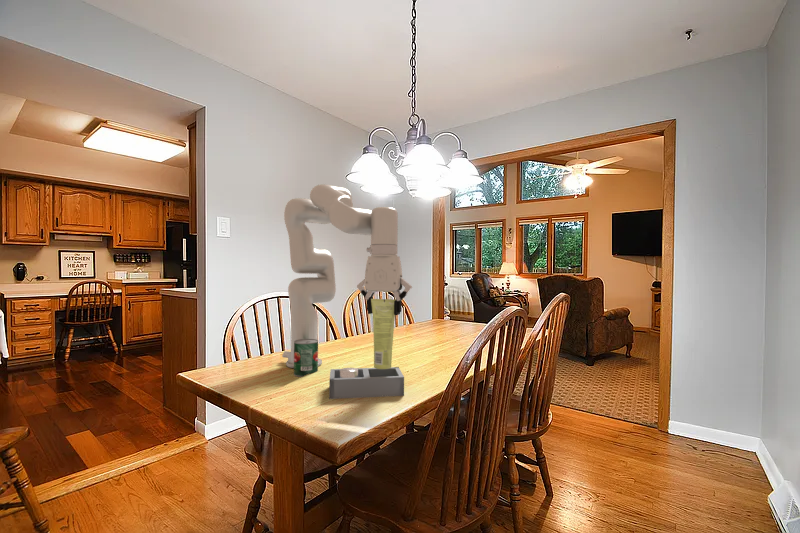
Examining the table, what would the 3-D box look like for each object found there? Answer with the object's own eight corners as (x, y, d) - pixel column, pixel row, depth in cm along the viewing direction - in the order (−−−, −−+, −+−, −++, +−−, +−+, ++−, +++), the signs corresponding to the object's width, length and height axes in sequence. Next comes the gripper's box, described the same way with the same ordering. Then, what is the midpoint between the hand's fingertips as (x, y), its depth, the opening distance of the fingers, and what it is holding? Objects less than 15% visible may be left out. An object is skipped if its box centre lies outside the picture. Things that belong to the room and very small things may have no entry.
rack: (329, 402, 102) (329, 379, 102) (330, 389, 112) (330, 369, 112) (404, 399, 105) (404, 377, 105) (398, 387, 115) (398, 367, 115)
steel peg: (336, 393, 106) (336, 371, 106) (344, 387, 111) (344, 367, 111) (353, 395, 104) (353, 373, 104) (360, 389, 109) (360, 368, 109)
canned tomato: (289, 373, 129) (289, 340, 129) (310, 369, 134) (310, 337, 134) (300, 378, 123) (301, 344, 123) (322, 374, 128) (322, 341, 128)
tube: (386, 364, 113) (386, 297, 113) (396, 367, 109) (397, 298, 109) (370, 367, 109) (370, 298, 109) (380, 371, 105) (381, 300, 105)
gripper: (350, 251, 108) (350, 314, 108) (409, 250, 103) (409, 317, 103) (361, 252, 115) (361, 311, 115) (417, 251, 110) (417, 313, 110)
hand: (383, 313), depth 109 cm, fingers closed on tube, 7 cm apart
